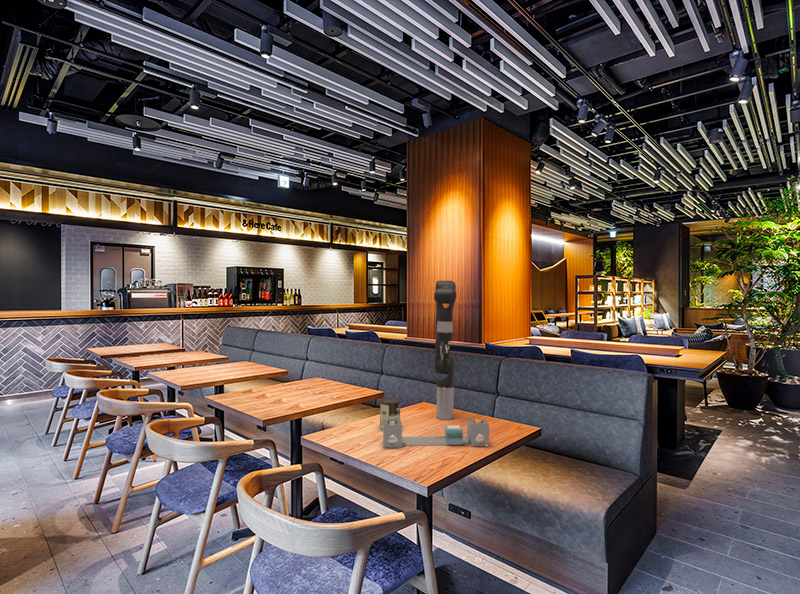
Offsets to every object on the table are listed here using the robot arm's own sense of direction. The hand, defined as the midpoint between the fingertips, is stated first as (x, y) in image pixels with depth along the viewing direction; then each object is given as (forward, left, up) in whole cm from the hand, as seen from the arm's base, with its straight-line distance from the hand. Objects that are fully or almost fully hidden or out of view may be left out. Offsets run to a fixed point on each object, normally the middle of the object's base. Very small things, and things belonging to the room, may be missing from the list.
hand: (444, 367), depth 198 cm
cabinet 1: (+10, -25, -33) cm, 43 cm away
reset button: (+10, +14, -27) cm, 32 cm away
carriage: (+10, +3, -32) cm, 33 cm away
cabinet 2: (+10, +14, -33) cm, 37 cm away
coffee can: (-13, -25, -33) cm, 44 cm away
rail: (+10, -6, -33) cm, 35 cm away
